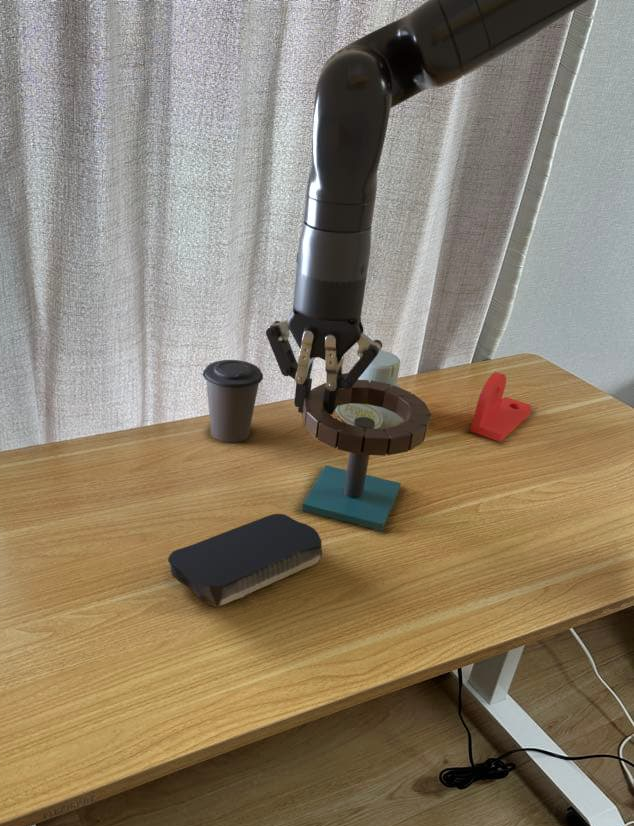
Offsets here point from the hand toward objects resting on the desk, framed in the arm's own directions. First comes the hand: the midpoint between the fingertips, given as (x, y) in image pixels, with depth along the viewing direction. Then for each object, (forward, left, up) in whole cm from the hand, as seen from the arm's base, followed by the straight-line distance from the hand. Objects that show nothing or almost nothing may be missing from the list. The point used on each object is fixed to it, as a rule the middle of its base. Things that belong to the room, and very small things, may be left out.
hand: (314, 412), depth 96 cm
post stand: (-6, 0, -11) cm, 12 cm away
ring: (-6, 0, 0) cm, 6 cm away
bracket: (-21, -30, -11) cm, 38 cm away
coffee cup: (+14, -9, -11) cm, 20 cm away
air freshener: (-3, -21, -11) cm, 24 cm away
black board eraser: (+1, +19, -11) cm, 22 cm away
